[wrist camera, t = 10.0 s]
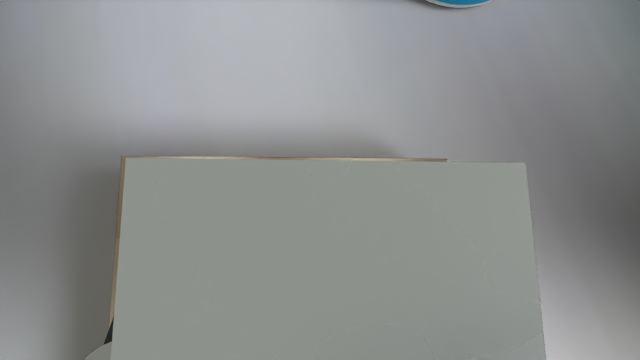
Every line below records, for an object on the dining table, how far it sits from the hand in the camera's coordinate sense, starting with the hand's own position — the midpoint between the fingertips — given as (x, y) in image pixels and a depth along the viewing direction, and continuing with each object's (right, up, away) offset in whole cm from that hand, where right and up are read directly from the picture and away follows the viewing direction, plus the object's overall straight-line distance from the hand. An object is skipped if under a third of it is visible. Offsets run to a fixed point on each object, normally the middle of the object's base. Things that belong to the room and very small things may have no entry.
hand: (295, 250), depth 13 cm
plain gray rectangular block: (-1, -4, +6) cm, 7 cm away
